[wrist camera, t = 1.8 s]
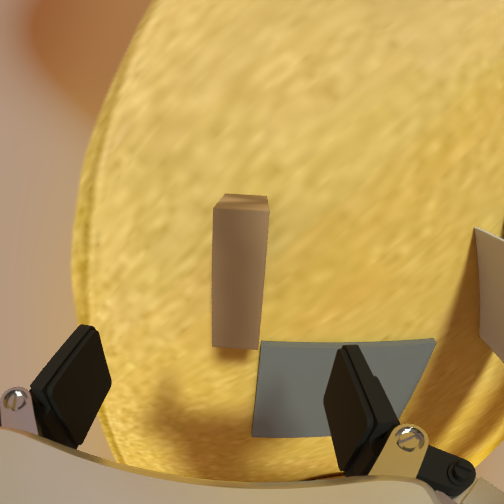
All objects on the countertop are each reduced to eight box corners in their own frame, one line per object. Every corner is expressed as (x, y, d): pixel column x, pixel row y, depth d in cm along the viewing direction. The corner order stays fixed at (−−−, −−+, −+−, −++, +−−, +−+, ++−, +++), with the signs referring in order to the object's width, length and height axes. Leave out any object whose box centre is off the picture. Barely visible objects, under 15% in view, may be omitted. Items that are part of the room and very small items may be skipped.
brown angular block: (266, 196, 21) (269, 211, 16) (258, 305, 24) (258, 349, 18) (225, 193, 21) (213, 208, 16) (222, 303, 24) (212, 346, 18)
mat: (433, 338, 25) (436, 342, 24) (391, 424, 30) (392, 428, 29) (261, 340, 25) (261, 346, 24) (251, 431, 30) (251, 437, 29)
